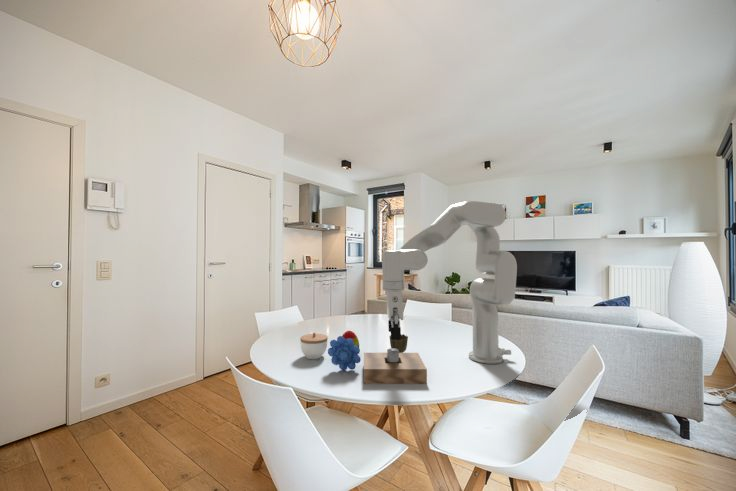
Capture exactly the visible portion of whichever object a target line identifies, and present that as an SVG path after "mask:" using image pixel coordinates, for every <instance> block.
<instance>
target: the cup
mask: <svg viewBox="0 0 736 491" xmlns="http://www.w3.org/2000/svg"><path fill="white" fill-rule="evenodd" d="M408 338H409V336H408V335H405V334H401V339H400V340H392V339H391V335H389V345H390V348H395V349H398V350H399V353H406V352H405V351H406V350H407V347H408Z"/></svg>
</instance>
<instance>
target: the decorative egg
mask: <svg viewBox="0 0 736 491" xmlns="http://www.w3.org/2000/svg"><path fill="white" fill-rule="evenodd" d="M342 336H343V337H344V338H345V341H346V339H348V338H350V339H352V340H353V341H354V345H355V346H358V347H359V348H360V342H359V341H360V340H359V338H358V336H357V334H356V333H355V332H354V331H352V330H346V331H345V332H344V333H343V334H342ZM354 345H353V346H354Z"/></svg>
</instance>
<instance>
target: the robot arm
mask: <svg viewBox="0 0 736 491" xmlns="http://www.w3.org/2000/svg"><path fill="white" fill-rule="evenodd" d="M506 218H507V213H506V210H505V208H504V207H503V206H502V205H500V204H498V203H495V202H486V201H485V202H484V201H478V200H467V201H462V202H457V203H455V204H451V205H450V206H449V207H448V208H446V209H445V210H444V211H443V212H442V213H441V214H440V215H439V216H438V217H437V218H436V219H435V220H434V221H433V222H432V223H431V224H430V225H429V226H427V227H425V229H423V230H422V231H420V232H419V233H417V234H416V235H414V236H413V237H412V238H410V239H408V240H407V241H406V242H405V243H404V244H403V245H402V246H401V247H400V248H399V249H393V250H392V249H389V250H387V249H386V250H383V252H382V253H381V261H382V262H381V266H382V268H381V269H382V272H381V274H382V291H384V292H385V295H386V299H385V300H386V301H385V302H386V314H387V317H388V332H389V333H390V337H391V339H392V340H400V339H401V335H402V333H401V332H402V331H401V329H402V328H401V321H403V320H404V318H405V317H404V302H403V300H404V299H403V291H405V270H406V271H415V272H416V271H420V270H423V269H424V268H425V267H426V266H427V264H428V261H429V260H428V256H427V254H426V253H425V252H427V251H428V250H432V249H434V248H437V247H440V246H442V245H444V244H445V243H447V241H449V240H450V239H451V238H452V237H453V235H454V234H455V233H456V232H457V231H458V230H459V229H460V228H461V227H463V226H469V227H470V229H471V230H472V231H473V232H474V234H475V236H476V253H475V254H476V256H475V269H476V270H477V272H478V273H479V274H482V275H485V276H486V275H487V276H494V278H490V277H488V278H487V277H479V278H476V279H474V280H473V281H472V282H471V284H470V286H469V295H470V300H471V306H472V308H471V309H472V351H469V353H468V358H469V359H470V360H472V361H474V362H478V363H481V364H488V365H489V364H490V365H495V364H501V363H502V362H503V361H504V357H503V356H504V355H506V356H511V355H512V350H511V349H505V348H500V347H499V312H498V309H497V306H501V307H502V306H504V307H505V306H508V305H511V304H512V303H513V301H514V300H515V297H516V296H515V295H516V287H517V273H518V271H517V270H518V264H517V259H516V257H515V256H514V255H513V254H512V253H511V252H510V251H506V250H501V248H500V247H501V242H500V241H501V240H500V235H499V233H498V231H497V229H496V227H498V226H501V225H503V223H504V222H505V220H506Z"/></svg>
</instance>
